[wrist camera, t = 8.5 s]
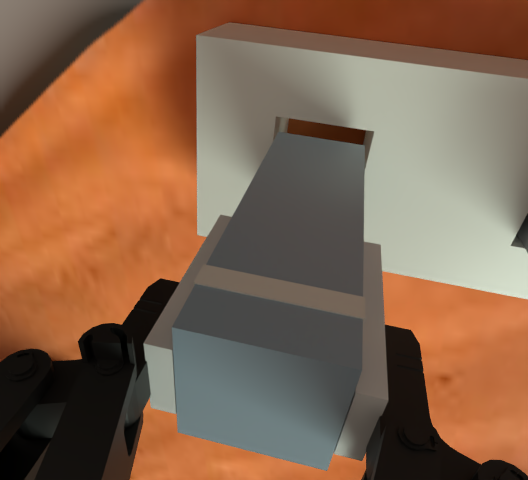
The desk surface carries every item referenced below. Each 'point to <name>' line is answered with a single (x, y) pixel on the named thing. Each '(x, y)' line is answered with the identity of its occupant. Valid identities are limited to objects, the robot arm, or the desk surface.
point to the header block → (380, 141)
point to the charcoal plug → (524, 233)
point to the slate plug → (279, 309)
